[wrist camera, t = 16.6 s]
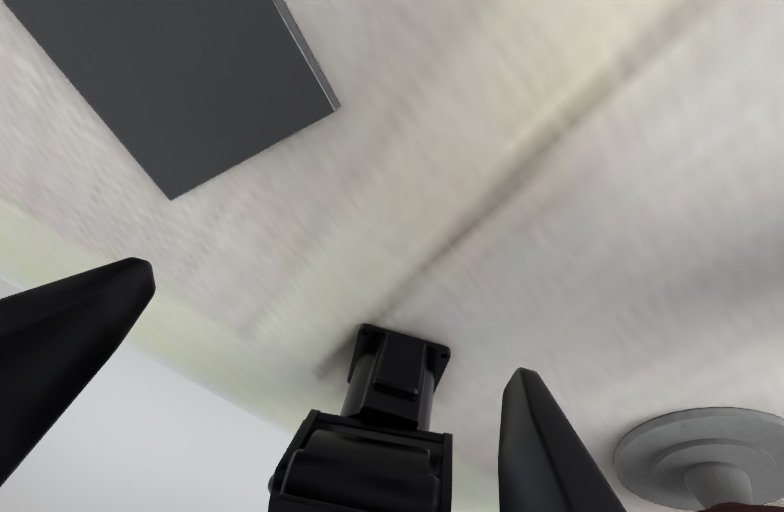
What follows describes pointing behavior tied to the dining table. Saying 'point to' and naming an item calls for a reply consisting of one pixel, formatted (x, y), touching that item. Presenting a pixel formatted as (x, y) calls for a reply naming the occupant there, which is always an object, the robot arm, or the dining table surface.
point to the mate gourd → (706, 460)
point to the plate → (185, 77)
